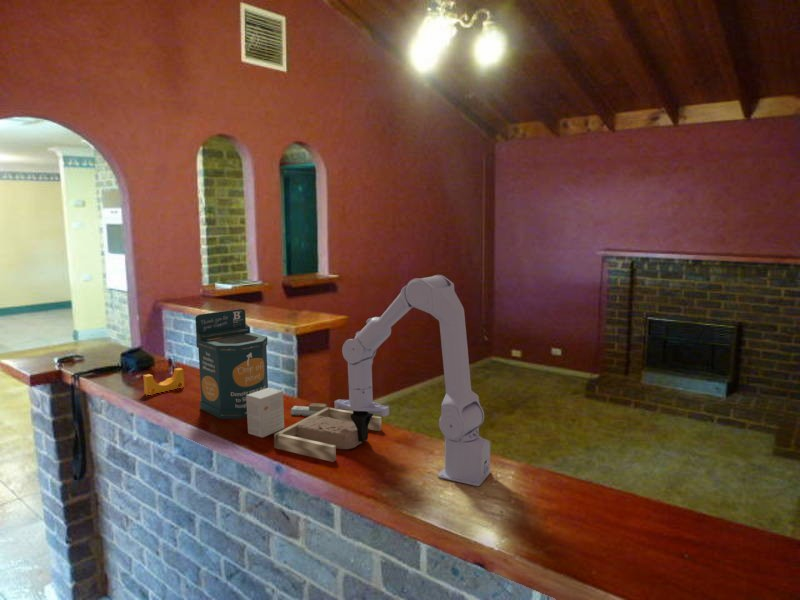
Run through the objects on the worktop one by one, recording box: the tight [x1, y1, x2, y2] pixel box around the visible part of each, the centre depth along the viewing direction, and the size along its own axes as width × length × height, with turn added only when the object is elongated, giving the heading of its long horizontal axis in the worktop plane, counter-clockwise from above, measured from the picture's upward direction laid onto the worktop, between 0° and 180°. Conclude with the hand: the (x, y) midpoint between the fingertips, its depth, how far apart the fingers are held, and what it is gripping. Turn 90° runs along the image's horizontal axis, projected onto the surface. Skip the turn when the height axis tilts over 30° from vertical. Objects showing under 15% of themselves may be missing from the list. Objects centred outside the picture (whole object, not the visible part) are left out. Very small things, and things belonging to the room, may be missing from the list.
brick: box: [297, 416, 363, 450], centre depth 144 cm, size 17×8×5 cm, turn 62°
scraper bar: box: [290, 402, 328, 417], centre depth 163 cm, size 10×3×3 cm, turn 80°
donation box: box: [194, 308, 269, 420], centre depth 166 cm, size 16×16×28 cm
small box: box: [246, 387, 285, 438], centre depth 150 cm, size 8×6×10 cm
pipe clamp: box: [142, 367, 185, 396], centre depth 185 cm, size 12×4×6 cm, turn 137°
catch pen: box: [273, 406, 383, 463], centre depth 145 cm, size 17×22×4 cm
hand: (362, 440), depth 140 cm, fingers closed, pressing on brick
